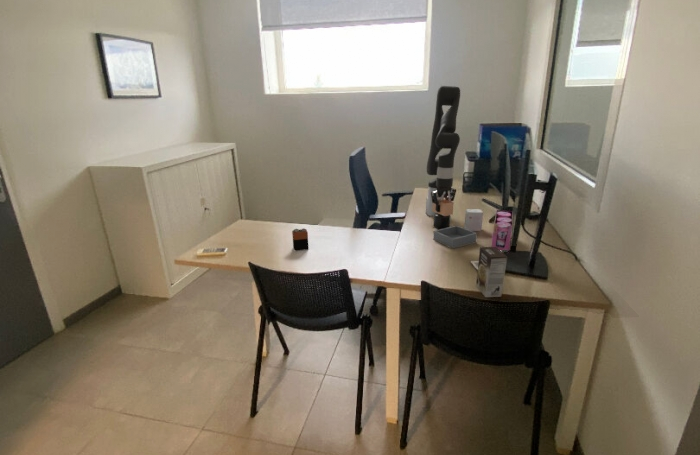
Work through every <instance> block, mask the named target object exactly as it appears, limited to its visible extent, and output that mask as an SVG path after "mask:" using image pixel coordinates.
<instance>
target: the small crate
mask: <svg viewBox="0 0 700 455" xmlns="http://www.w3.org/2000/svg"><path fill="white" fill-rule="evenodd" d="M438 202H439V201H438ZM432 211H433V212H436V204H434V203H433V207H432ZM436 213H438V214H441V215H443V216H448V215H450V216H452V215H453V213H454V201H448V200H445V198H444V199H443V200H442V201H441V204H440V212H436Z"/></svg>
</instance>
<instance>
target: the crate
mask: <svg viewBox="0 0 700 455" xmlns="http://www.w3.org/2000/svg"><path fill="white" fill-rule="evenodd" d="M477 235H478V234H477V233H476V231H470V230H467V229H465V228H464V227H461V226H459V225H453V226H450V227H448V228H444V229H437V230H434V231H433V239H432V240H433V241H435V242H438V243H441V244H442V245H444V246H446V247H449V248H450V249H457V248H460V247H463V246H467V245H470V244H474V243H477V242H476V241H477V237H478V236H477Z"/></svg>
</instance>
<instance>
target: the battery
mask: <svg viewBox="0 0 700 455" xmlns="http://www.w3.org/2000/svg"><path fill="white" fill-rule="evenodd" d="M291 234H292V245H293V250H294V251H296V252H297V251H305V250H309V234H308V229H307V228H300V229H299V228H294V229H293V230H292V232H291Z"/></svg>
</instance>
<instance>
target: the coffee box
mask: <svg viewBox="0 0 700 455" xmlns="http://www.w3.org/2000/svg"><path fill="white" fill-rule="evenodd" d="M478 261H479V263H478V270H477V273H476V281H475V282H476V284H475V286H476V287H477V288H478V290H479V291H480V293H482V295H483V297H484V298H494V297H495V298H499V297H502V295H503V288H504V281H505V273H506V268H507V263H508V262H507V261H508V256H507V255H506V254H505V253H504V252H501V251H500V250H499V249H498V248H497V247H491V246H480V247H479V255H478Z"/></svg>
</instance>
